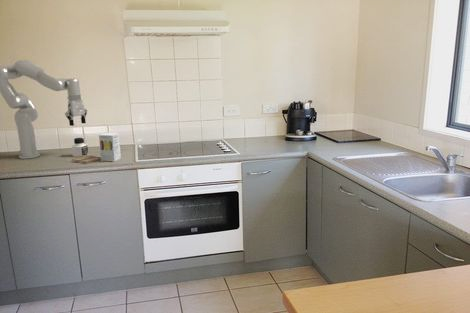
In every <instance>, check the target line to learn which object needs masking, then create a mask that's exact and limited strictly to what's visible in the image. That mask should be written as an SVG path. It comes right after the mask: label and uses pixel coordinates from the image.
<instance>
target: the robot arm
mask: <svg viewBox="0 0 470 313" xmlns="http://www.w3.org/2000/svg"><path fill="white" fill-rule="evenodd" d="M21 77H27V78H29V79H31V80H34V81H36V82H37V83H39V84H40V85H41V86H42V87H45V88H47V89H50V90H52V91H54V92H60V91H66V92H67V100H68V101H67V111H66V112H64V115H65V117H66V118H67V120H68V123H69V126H70V127H71V126H75V123H74V117H79V116H80V121H81V122H80V123H81V124H86V121H87V120H86V117H87V115H88V114H87V113H88V109H86V108H85V105H84V102H83V99H82V95H81V87H80V80H79V78H63V77H61V78H55V77H53V76H50V75H48V74H46V72H45V70H44V69H43V68H42V67H38V66H37V65H35V64H34V63H33V61H31V60H28V59H27V60H26V59H20V60H17V61H15V63H14V64H12V65H1V66H0V95H1V96H2V98H3V100H4V101H5V103H6V104H7V106H8V107H9V108H10V109H13V110H17V109H18V110H17V111H15V113H14V122H15V125H16V129H17V135H18V141H19V149H20V150H17V151H18V153H19V155H18V158H19V159H22V160H23V159H24V160H25V159H34V158H38V157H40V152H38V151H37V142H36V137H35V136H36V135H35V130H34V126H33V122H34V121H36V120H37V119H38V116H39V114H38V110H37V108H36V107H35V106H34V104H33V102H32V101H31V99H30V98H29V96H28V95H27V94H24V93H23V92H22V93H21V92H18V91H17V90H16V89H15V87H14V86H13V84H11V82H10V81H9V80H14V79H15V80H16V79H18V78H21Z"/></svg>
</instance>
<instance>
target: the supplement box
mask: <svg viewBox="0 0 470 313" xmlns="http://www.w3.org/2000/svg"><path fill="white" fill-rule="evenodd" d="M98 139H99V140H98V141H99V149H100V150H99V151H100V157H101V159H100V161H101V162H110V161H112V162H113V163H114V162H117V161H119V160H120V159H122V156H121V143H120V133H119V132H103V133H100V134H99V135H98Z"/></svg>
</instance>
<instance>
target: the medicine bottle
mask: <svg viewBox="0 0 470 313" xmlns="http://www.w3.org/2000/svg"><path fill="white" fill-rule="evenodd" d="M73 141H74V145H72V146H71V151H72V157H74V158H81V157H84V156H86V155H88V156H89V149H88V148H89V147H88V144H87V143H85V139H84V138H83V137H76V138H74V139H73Z"/></svg>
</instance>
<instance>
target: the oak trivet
mask: <svg viewBox="0 0 470 313" xmlns="http://www.w3.org/2000/svg"><path fill="white" fill-rule="evenodd" d="M96 161H101V156H96V155H95V156H94V155H89V154H88V155H86V156H84V157H76V158H73V159H71V162H73V163H77V164H90V163H94V162H96Z"/></svg>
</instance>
